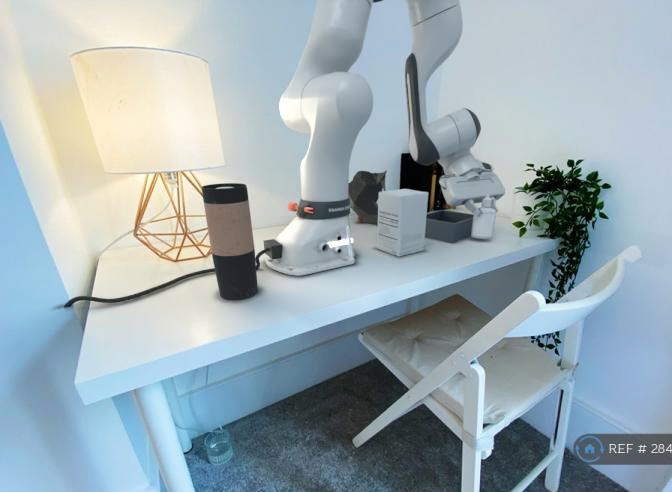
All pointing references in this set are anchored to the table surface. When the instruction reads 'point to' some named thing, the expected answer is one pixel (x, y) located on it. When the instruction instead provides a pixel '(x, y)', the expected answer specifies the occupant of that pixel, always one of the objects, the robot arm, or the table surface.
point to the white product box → (401, 221)
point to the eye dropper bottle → (484, 220)
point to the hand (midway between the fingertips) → (486, 214)
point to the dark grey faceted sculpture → (366, 195)
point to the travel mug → (231, 239)
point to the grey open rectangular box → (448, 225)
